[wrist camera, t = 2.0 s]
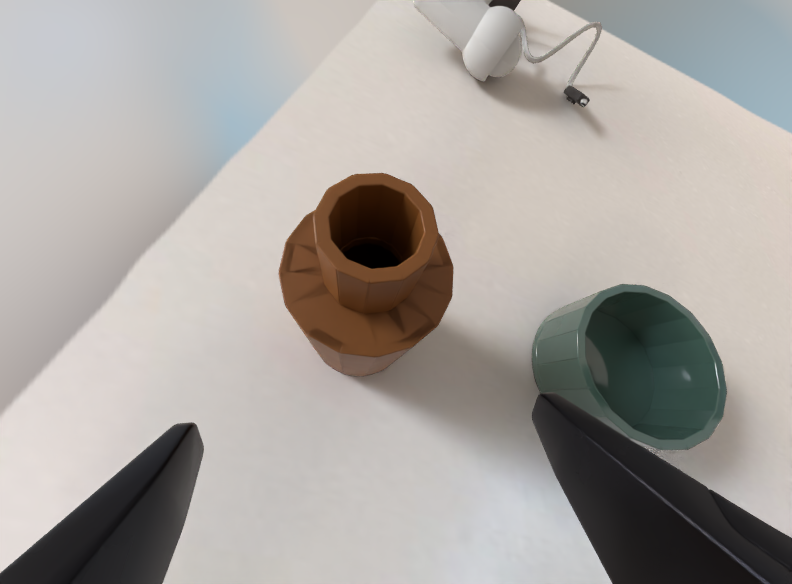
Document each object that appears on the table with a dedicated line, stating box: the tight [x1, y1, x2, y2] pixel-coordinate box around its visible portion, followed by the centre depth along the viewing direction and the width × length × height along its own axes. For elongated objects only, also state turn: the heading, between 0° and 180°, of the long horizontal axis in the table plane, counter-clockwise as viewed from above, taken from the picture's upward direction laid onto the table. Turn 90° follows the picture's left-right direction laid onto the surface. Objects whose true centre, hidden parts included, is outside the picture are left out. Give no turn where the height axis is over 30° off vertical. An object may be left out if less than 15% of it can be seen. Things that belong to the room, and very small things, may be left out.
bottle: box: [279, 173, 453, 376], centre depth 14 cm, size 6×6×13 cm
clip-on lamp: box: [413, 0, 602, 107], centre depth 28 cm, size 12×6×18 cm
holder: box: [532, 284, 727, 450], centre depth 20 cm, size 9×9×5 cm
